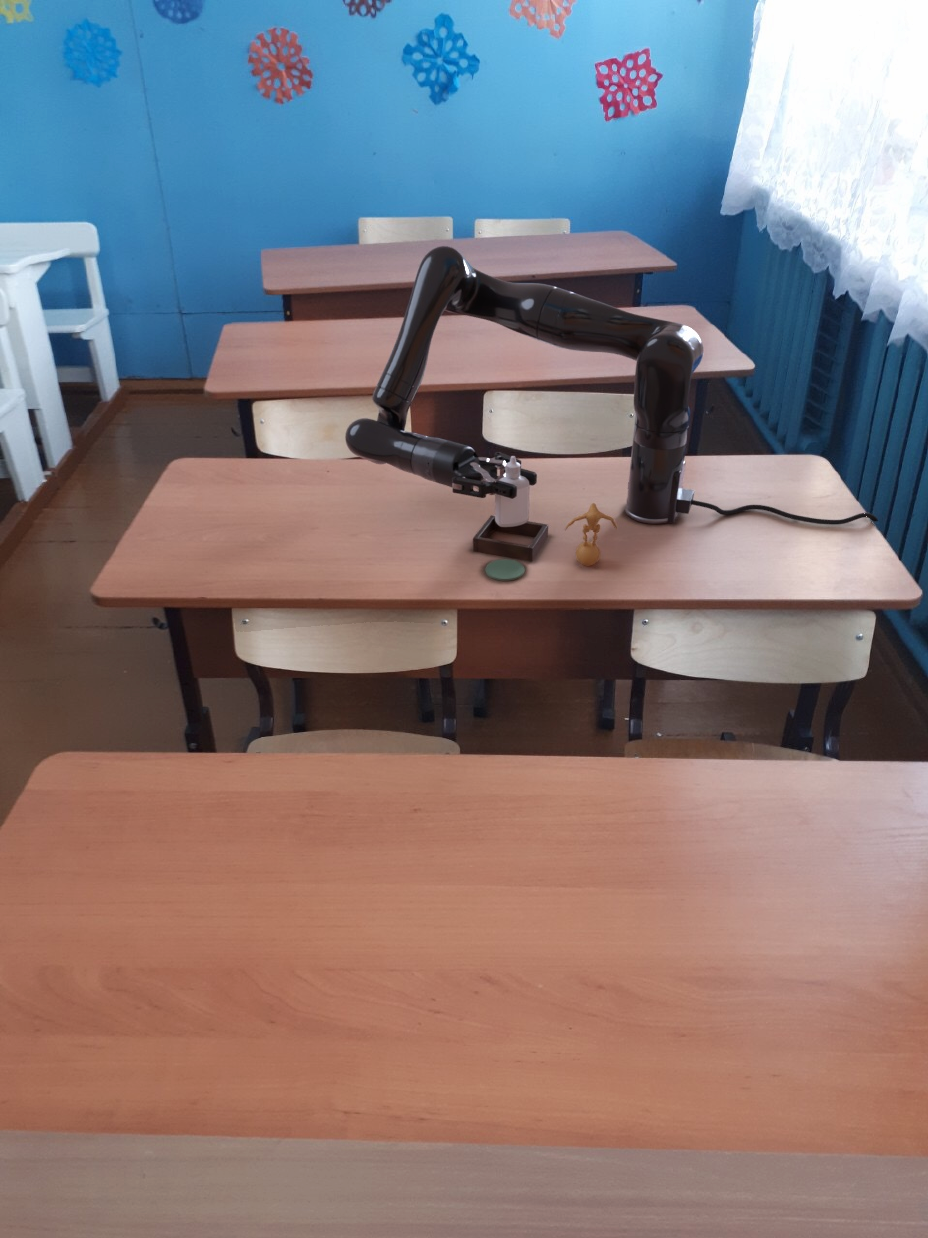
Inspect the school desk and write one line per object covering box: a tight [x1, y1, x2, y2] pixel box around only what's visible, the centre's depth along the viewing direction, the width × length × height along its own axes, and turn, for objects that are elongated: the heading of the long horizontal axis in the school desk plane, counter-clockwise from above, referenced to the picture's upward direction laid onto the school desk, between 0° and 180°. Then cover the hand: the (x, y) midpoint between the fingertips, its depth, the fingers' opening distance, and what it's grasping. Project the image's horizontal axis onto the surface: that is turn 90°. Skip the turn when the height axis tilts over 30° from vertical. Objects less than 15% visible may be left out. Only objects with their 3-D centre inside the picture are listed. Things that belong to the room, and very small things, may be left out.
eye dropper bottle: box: [494, 455, 530, 527], centre depth 145 cm, size 4×6×12 cm
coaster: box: [485, 558, 525, 582], centre depth 143 cm, size 6×6×1 cm
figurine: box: [564, 502, 618, 567], centre depth 141 cm, size 8×6×12 cm
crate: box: [472, 515, 549, 562], centre depth 150 cm, size 11×9×2 cm
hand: (525, 485), depth 143 cm, fingers closed on eye dropper bottle, 5 cm apart
